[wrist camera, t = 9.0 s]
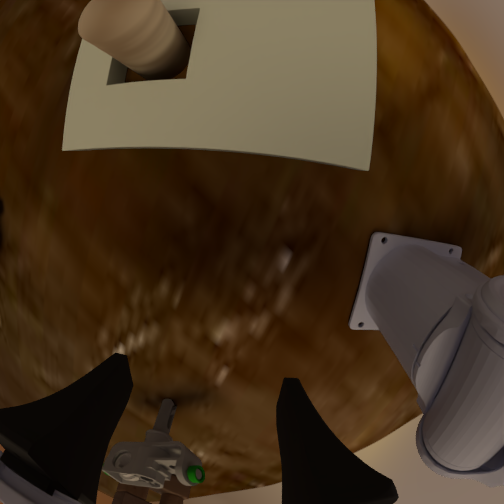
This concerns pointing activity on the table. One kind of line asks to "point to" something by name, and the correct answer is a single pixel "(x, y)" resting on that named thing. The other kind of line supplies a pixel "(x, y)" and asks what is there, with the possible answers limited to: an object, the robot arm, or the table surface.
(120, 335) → the table surface
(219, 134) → the socket board
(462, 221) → the table surface
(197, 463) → the mechanical component
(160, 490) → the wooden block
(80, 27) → the birch peg
